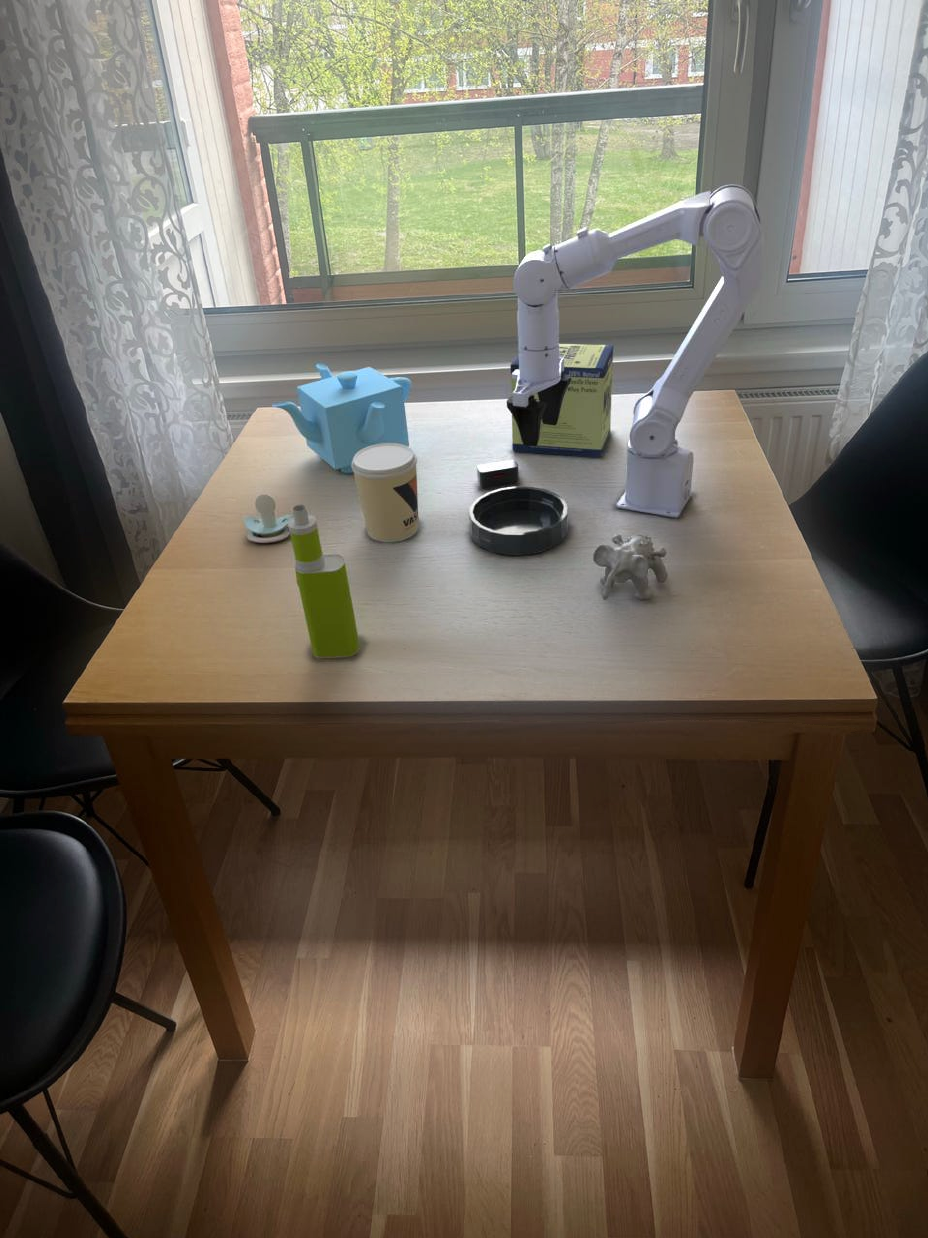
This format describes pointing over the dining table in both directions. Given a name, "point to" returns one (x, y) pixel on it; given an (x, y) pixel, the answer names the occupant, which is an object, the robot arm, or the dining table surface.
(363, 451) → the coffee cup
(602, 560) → the gray elephant figurine
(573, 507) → the dining table surface
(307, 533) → the vape
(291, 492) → the dining table surface
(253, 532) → the pacifier
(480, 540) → the bowl
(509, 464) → the wireless earbuds
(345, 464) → the teakettle
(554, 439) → the protein box
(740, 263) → the robot arm
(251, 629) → the dining table surface
